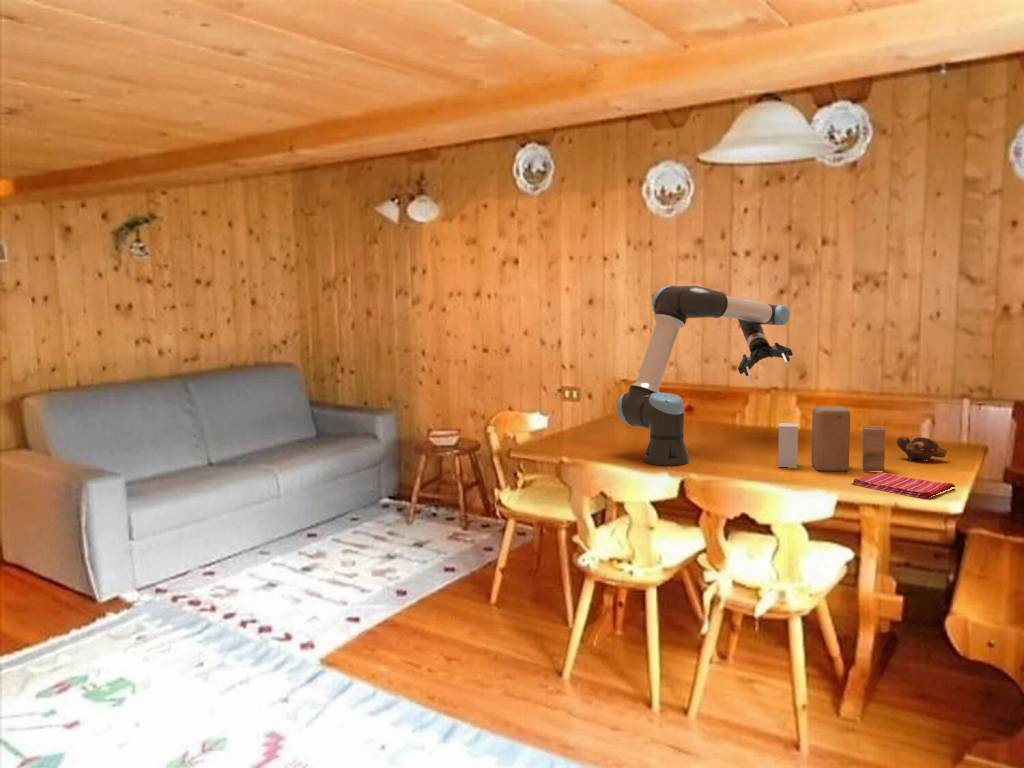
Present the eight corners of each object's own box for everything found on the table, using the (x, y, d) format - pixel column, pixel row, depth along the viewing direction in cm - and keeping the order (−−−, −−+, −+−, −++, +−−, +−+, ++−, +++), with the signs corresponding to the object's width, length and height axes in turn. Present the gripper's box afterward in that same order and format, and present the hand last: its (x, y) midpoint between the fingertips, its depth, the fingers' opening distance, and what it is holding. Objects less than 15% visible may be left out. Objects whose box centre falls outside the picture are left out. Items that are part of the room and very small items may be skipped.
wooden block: (849, 471, 261) (851, 410, 259) (817, 471, 263) (818, 410, 260) (842, 464, 271) (843, 405, 268) (810, 464, 273) (811, 405, 270)
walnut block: (883, 472, 259) (885, 429, 257) (863, 471, 261) (864, 429, 259) (882, 468, 264) (883, 426, 262) (862, 467, 266) (863, 425, 265)
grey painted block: (797, 468, 268) (798, 426, 266) (778, 467, 270) (778, 426, 268) (797, 464, 273) (798, 423, 271) (778, 463, 275) (779, 423, 273)
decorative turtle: (894, 455, 282) (896, 433, 281) (943, 461, 276) (946, 438, 275) (895, 460, 273) (898, 437, 272) (946, 466, 267) (949, 442, 266)
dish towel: (928, 502, 227) (929, 492, 227) (850, 486, 246) (850, 477, 246) (957, 491, 237) (958, 482, 237) (880, 476, 256) (880, 468, 256)
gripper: (793, 342, 314) (805, 367, 295) (731, 365, 321) (739, 391, 302) (787, 325, 311) (799, 350, 292) (724, 349, 318) (732, 374, 299)
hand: (769, 371), depth 297 cm, fingers open, 13 cm apart
